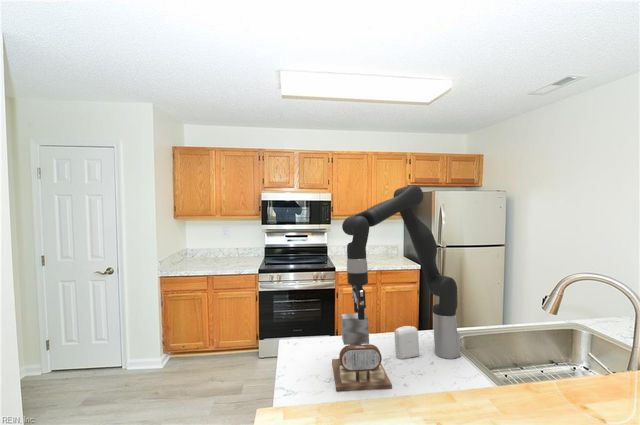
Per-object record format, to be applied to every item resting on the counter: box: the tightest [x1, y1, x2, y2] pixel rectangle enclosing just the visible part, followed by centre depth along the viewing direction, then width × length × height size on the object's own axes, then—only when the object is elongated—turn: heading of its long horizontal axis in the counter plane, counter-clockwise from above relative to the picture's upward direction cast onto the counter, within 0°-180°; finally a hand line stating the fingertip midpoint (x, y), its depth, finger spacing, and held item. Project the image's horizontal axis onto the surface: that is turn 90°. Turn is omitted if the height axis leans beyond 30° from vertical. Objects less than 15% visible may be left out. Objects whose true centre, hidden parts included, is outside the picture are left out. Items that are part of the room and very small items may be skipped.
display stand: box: [331, 312, 393, 392], centre depth 103 cm, size 19×20×20 cm
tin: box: [338, 343, 382, 371], centre depth 97 cm, size 15×3×8 cm, turn 92°
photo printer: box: [394, 325, 420, 360], centre depth 116 cm, size 10×4×12 cm, turn 104°
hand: (359, 315), depth 99 cm, fingers open, 8 cm apart
